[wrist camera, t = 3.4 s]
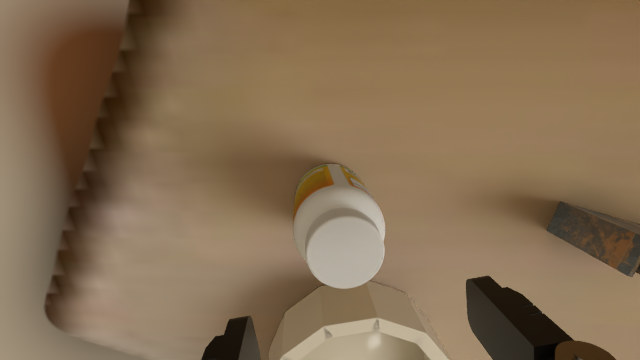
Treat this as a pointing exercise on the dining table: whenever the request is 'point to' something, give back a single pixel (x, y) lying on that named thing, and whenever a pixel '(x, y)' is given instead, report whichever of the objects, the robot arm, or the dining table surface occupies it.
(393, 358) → the bowl
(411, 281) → the dining table surface
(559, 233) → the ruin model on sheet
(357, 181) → the supplement bottle
